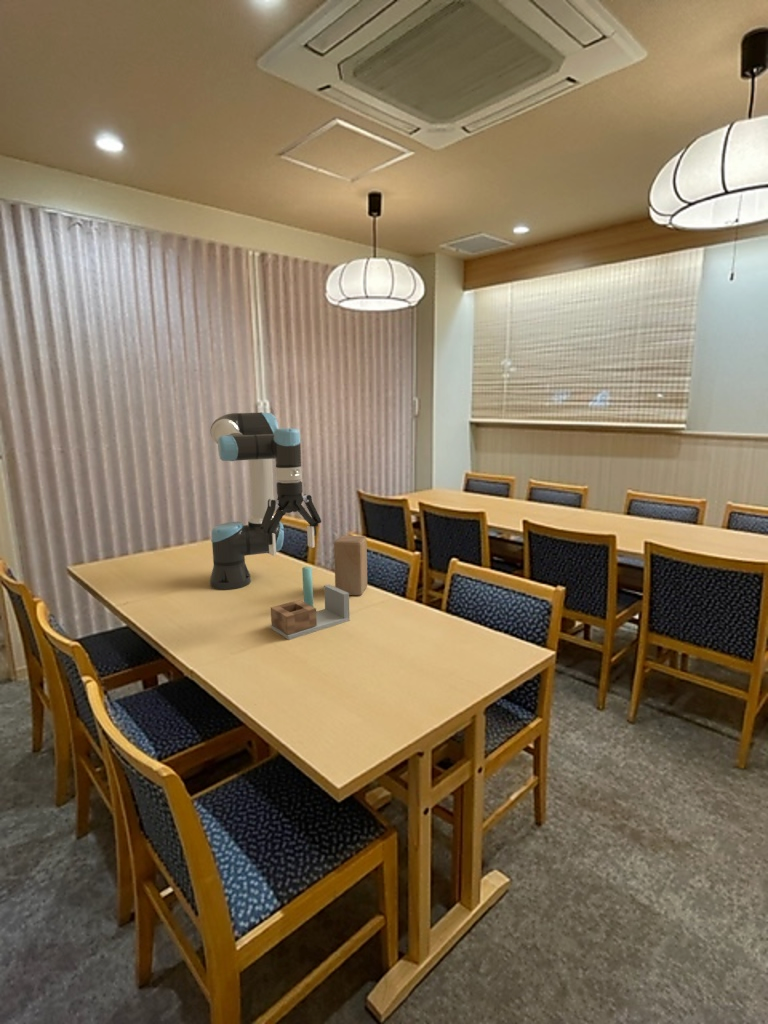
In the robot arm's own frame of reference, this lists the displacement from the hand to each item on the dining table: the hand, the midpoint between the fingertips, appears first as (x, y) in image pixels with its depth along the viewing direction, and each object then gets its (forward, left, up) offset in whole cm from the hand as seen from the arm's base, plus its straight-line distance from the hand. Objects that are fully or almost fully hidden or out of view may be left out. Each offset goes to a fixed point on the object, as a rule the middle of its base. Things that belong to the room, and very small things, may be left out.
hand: (292, 550), depth 166 cm
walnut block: (+2, -2, -23) cm, 23 cm away
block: (-14, +32, -24) cm, 43 cm away
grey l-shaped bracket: (+2, +4, -24) cm, 25 cm away
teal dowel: (-10, +11, -24) cm, 29 cm away
